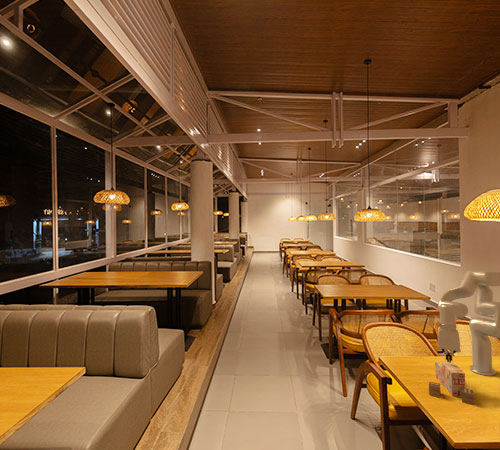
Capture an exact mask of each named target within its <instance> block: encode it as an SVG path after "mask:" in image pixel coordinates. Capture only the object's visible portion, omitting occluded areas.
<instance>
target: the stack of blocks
mask: <svg viewBox="0 0 500 450" xmlns="http://www.w3.org/2000/svg"><path fill="white" fill-rule="evenodd" d="M434 363H435V367H434V368H435V378H436V379H437V380H438V383H440V385H442V386H443V387H444V388H445V389H446V390H448V391H447V392H448V393H449V394H450V395H451V396H452V397H458V396H461V388H465V389H466V373H465V372H464V371H463V369H461V368H460V367H458V366H457V365H456V364H455V363H453V362H451V363H450V362H447V361H435V362H434Z"/></svg>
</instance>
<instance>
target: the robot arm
mask: <svg viewBox="0 0 500 450" xmlns="http://www.w3.org/2000/svg"><path fill="white" fill-rule="evenodd" d="M491 287H500V271H497V270H496V271H493V270H483V269H469V270H466V271H465V272H464V273H463V275H462V277H461V279H460V281H459V283H458V284H457V286H456V287H453V288H451V289H449V290H447V291H446V292H444V293H443V294H442V295H441V297H440V299H439V301H438V304H437V310H438V312H439V323H436V327H438V329H437V330H438V331H437V346H436V349H437V350H440V351H442V352H443V353H444V354H445V361H446V362H447V363H452V361H453V355H454V354H455V353H461V339H460V334H459V331H458V329H457V318H464V317H466V316H468V314H469V308H468V305H466V304H465V303H461V302H457V301H456V300H459V299H466V298H470V297H472V296H474V294H475V296H474V304H473V305H474V306H473V311H474V313H475V314H477V315H478V317H477V316H473V317H471V318H470V320H469V322H468V324H469V331H470V336H471V355H472V358H471V359H472V365H470V366H469V370H470V371H471V372H473V373H474V374H477V375H481V376H493V377H494V376H495V375H497V373H496V372H497V371H496V370H495V369H493V353H492V352H493V351H492V347H493V346H492V341H491V339H490V337H492V338H496V339H500V302H499V301H494V300H493V299H494V297H493V296H494V292H493V290H492V288H491ZM479 316H481V317H479ZM482 316H483V317H482ZM486 317H488V318H486ZM489 318H492V319H489ZM448 350H449V352H448Z"/></svg>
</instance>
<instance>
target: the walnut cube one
mask: <svg viewBox="0 0 500 450" xmlns="http://www.w3.org/2000/svg"><path fill="white" fill-rule="evenodd" d="M428 395H429V396H431V397H436V396H437V397H436V398H441V383H440V382H434V381H428Z"/></svg>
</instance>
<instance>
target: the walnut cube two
mask: <svg viewBox="0 0 500 450" xmlns="http://www.w3.org/2000/svg"><path fill="white" fill-rule="evenodd" d="M474 393H475V392H474V390H473V389H469V388H466V387H465V388H461V397H460V398H462V399H461V402H462V403H464V402H465V404H468V403H469V405H474V406H475V394H474Z"/></svg>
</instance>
